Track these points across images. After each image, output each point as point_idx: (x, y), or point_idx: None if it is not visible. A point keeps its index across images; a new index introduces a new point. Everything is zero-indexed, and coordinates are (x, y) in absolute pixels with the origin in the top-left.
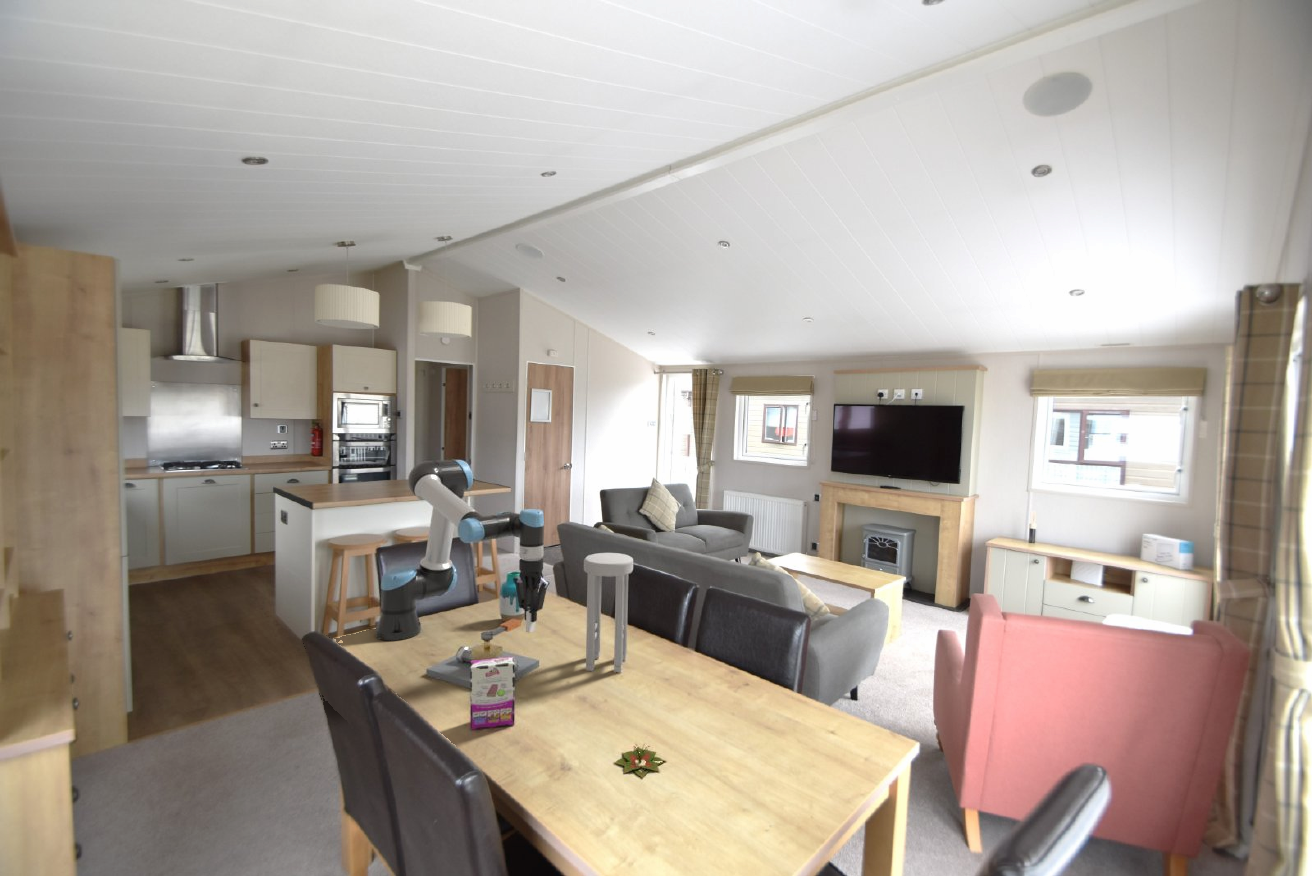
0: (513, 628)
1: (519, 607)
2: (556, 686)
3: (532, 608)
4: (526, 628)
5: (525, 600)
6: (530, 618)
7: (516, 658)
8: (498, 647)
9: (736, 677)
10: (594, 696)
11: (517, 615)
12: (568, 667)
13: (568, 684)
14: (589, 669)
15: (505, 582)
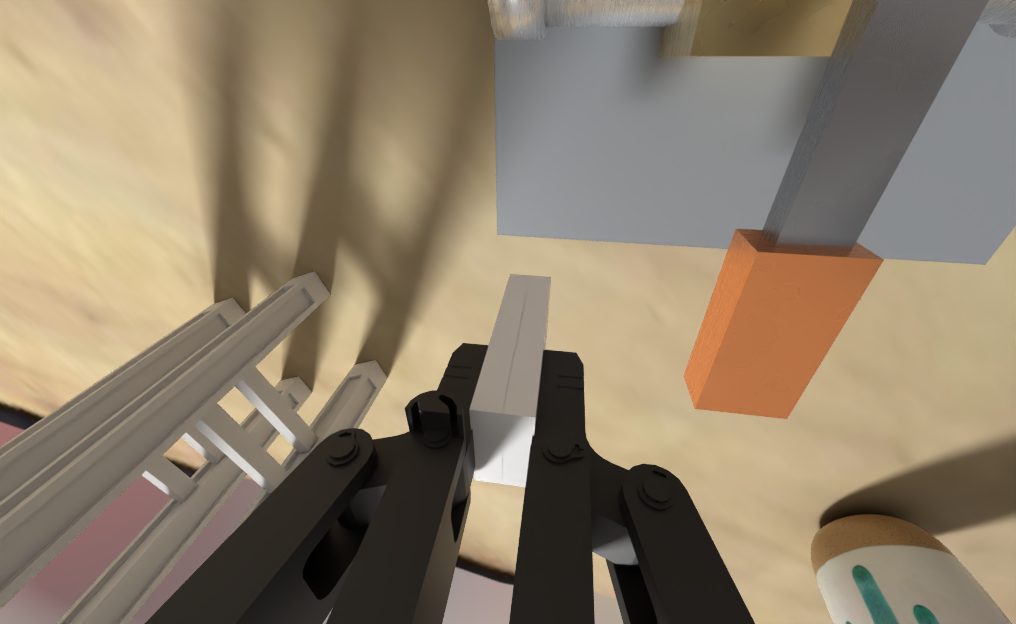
0: (711, 307)
1: (859, 592)
2: (275, 62)
3: (408, 463)
4: (544, 293)
5: (545, 621)
6: (487, 362)
7: (626, 200)
8: (722, 17)
9: (19, 385)
10: (79, 64)
11: (846, 549)
12: (389, 268)
13: (255, 116)
14: (300, 277)
15: None
